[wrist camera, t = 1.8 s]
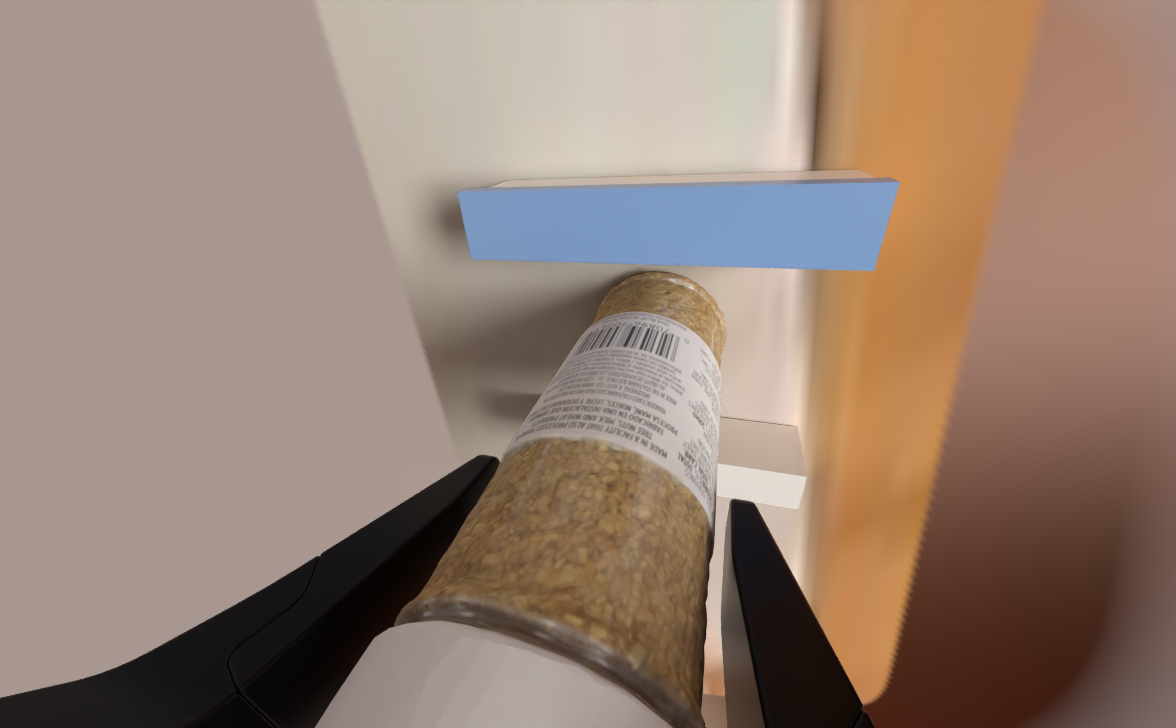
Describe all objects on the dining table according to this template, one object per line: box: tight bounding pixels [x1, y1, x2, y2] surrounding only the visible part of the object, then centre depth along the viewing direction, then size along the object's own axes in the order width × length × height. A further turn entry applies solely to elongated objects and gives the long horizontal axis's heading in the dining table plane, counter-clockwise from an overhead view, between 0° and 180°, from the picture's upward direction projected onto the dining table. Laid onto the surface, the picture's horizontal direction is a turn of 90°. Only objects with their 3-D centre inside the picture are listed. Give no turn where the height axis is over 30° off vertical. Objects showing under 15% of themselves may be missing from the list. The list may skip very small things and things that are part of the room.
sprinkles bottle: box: [315, 272, 726, 728], centre depth 9 cm, size 5×5×14 cm
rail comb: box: [457, 170, 900, 510], centre depth 11 cm, size 19×10×3 cm, turn 4°
